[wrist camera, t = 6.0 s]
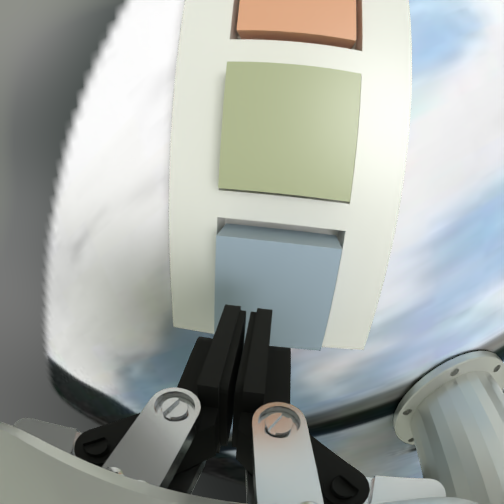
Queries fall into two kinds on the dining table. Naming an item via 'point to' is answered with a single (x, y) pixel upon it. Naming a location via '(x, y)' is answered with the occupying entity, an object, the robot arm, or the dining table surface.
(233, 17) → the keypad
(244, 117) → the olive key
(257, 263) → the slate blue key
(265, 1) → the terracotta key
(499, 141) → the dining table surface
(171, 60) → the dining table surface
